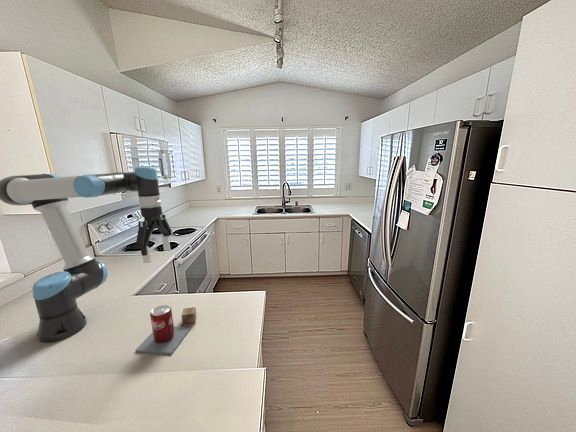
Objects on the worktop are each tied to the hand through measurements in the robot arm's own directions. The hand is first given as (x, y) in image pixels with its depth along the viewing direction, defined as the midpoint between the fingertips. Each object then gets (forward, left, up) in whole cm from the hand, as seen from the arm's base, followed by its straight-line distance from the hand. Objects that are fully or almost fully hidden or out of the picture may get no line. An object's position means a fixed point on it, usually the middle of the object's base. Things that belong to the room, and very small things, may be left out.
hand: (157, 256), depth 106 cm
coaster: (+8, -14, -29) cm, 33 cm away
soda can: (+8, -14, -28) cm, 32 cm away
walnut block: (+12, -2, -29) cm, 31 cm away
